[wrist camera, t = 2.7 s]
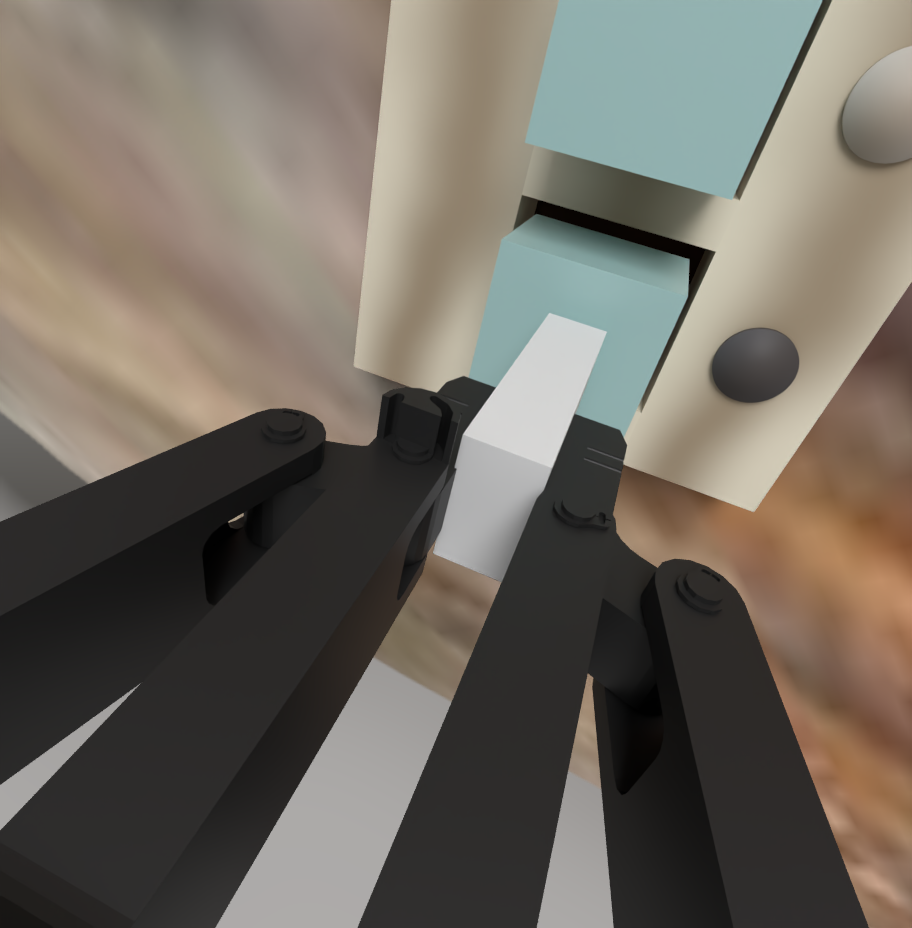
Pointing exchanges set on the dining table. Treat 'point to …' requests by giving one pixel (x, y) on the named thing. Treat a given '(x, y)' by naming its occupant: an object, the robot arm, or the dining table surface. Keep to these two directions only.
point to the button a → (583, 308)
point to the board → (651, 228)
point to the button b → (667, 84)
